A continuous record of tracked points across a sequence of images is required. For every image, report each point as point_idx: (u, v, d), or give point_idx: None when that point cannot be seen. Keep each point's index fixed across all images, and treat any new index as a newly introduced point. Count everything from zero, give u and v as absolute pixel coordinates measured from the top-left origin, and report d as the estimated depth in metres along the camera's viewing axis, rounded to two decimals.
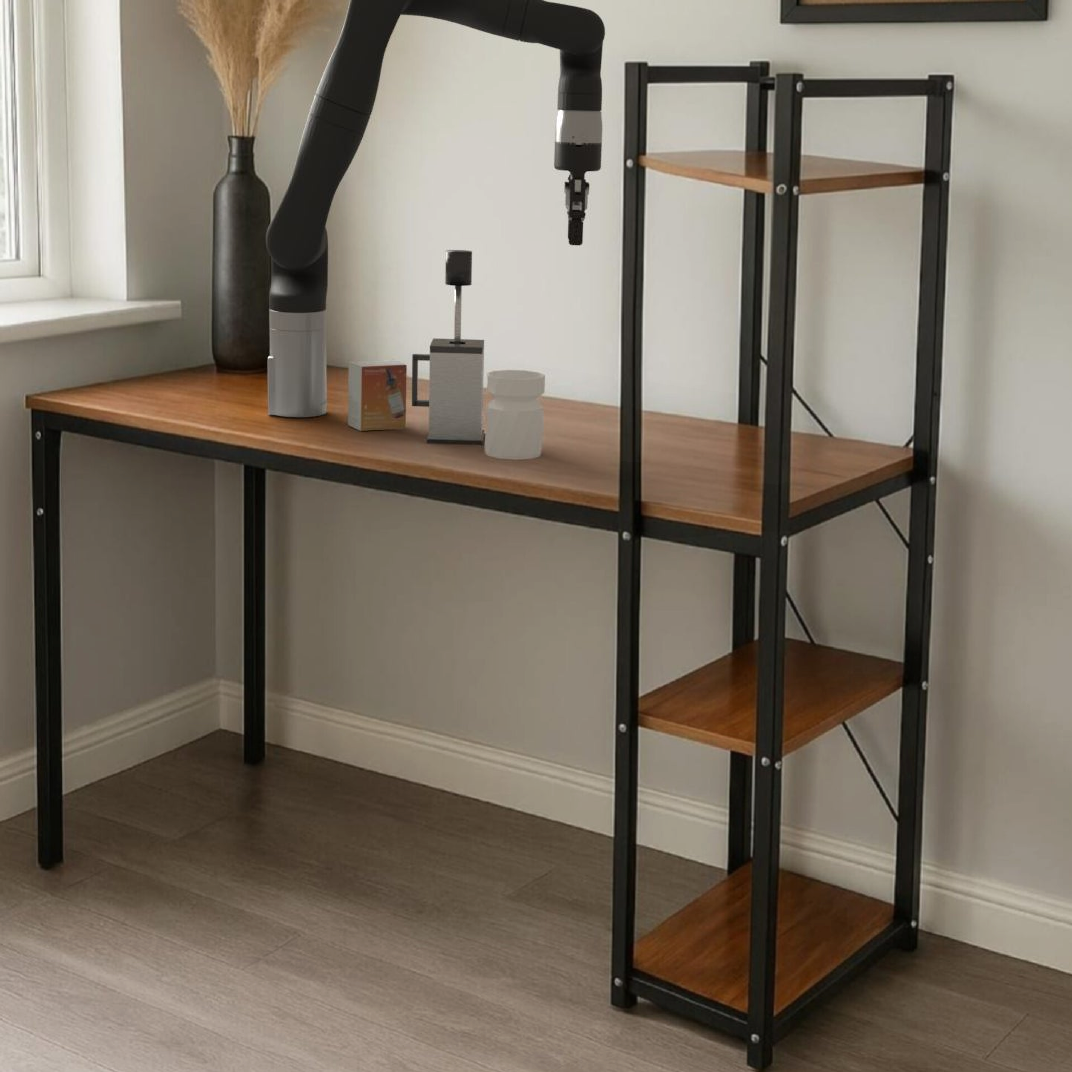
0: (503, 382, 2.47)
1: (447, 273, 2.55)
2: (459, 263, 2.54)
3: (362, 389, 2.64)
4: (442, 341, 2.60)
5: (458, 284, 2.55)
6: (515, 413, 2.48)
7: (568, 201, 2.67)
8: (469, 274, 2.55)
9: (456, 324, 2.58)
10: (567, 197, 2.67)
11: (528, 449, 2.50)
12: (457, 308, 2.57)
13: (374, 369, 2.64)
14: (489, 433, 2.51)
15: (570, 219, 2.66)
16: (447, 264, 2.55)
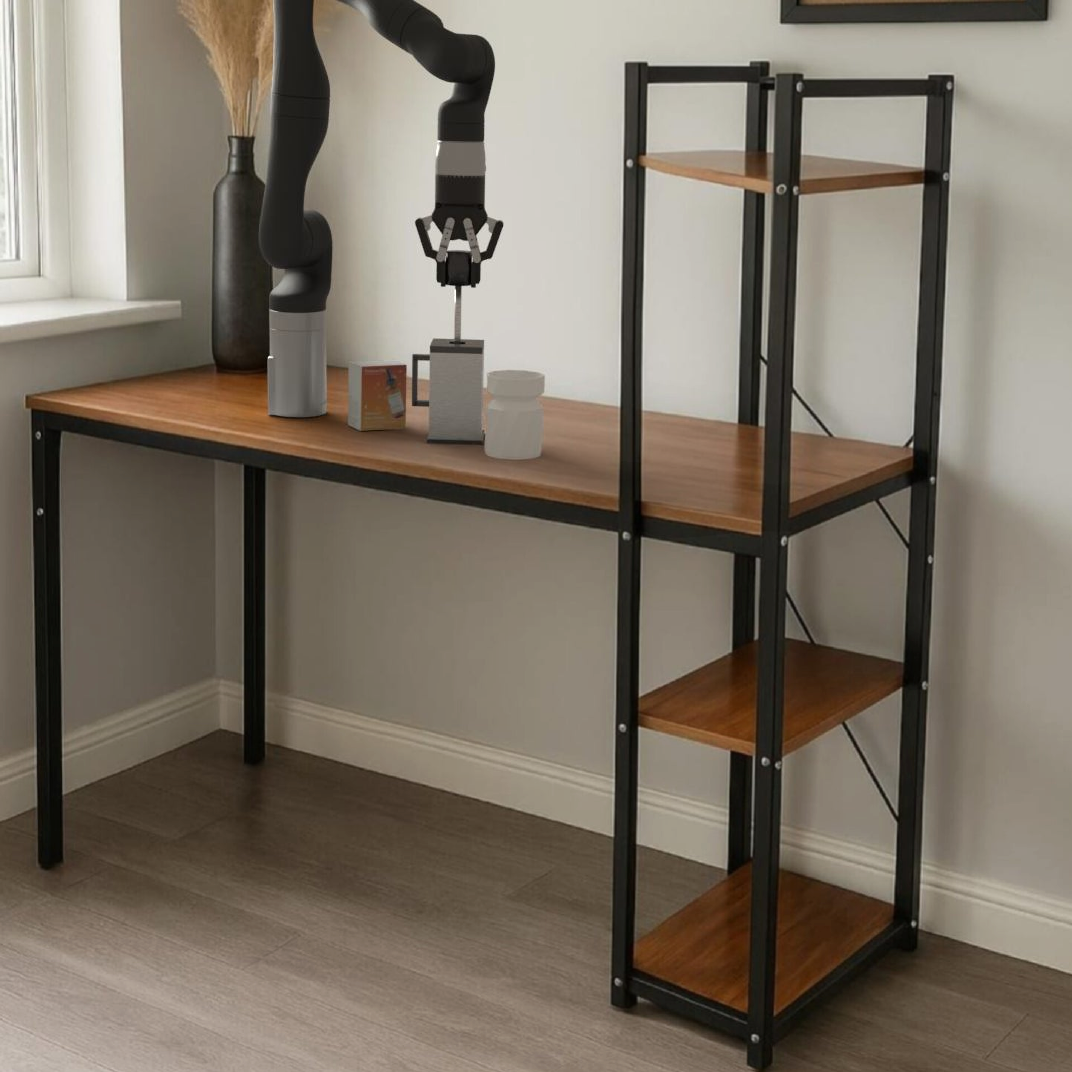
0: (503, 382, 2.47)
1: (447, 273, 2.55)
2: (459, 263, 2.54)
3: (362, 389, 2.64)
4: (442, 341, 2.60)
5: (458, 284, 2.55)
6: (514, 414, 2.47)
7: (476, 241, 2.54)
8: (469, 274, 2.55)
9: (456, 324, 2.58)
10: (475, 237, 2.53)
11: (528, 449, 2.50)
12: (457, 308, 2.57)
13: (374, 369, 2.64)
14: (489, 433, 2.51)
15: (479, 261, 2.55)
16: (447, 264, 2.55)
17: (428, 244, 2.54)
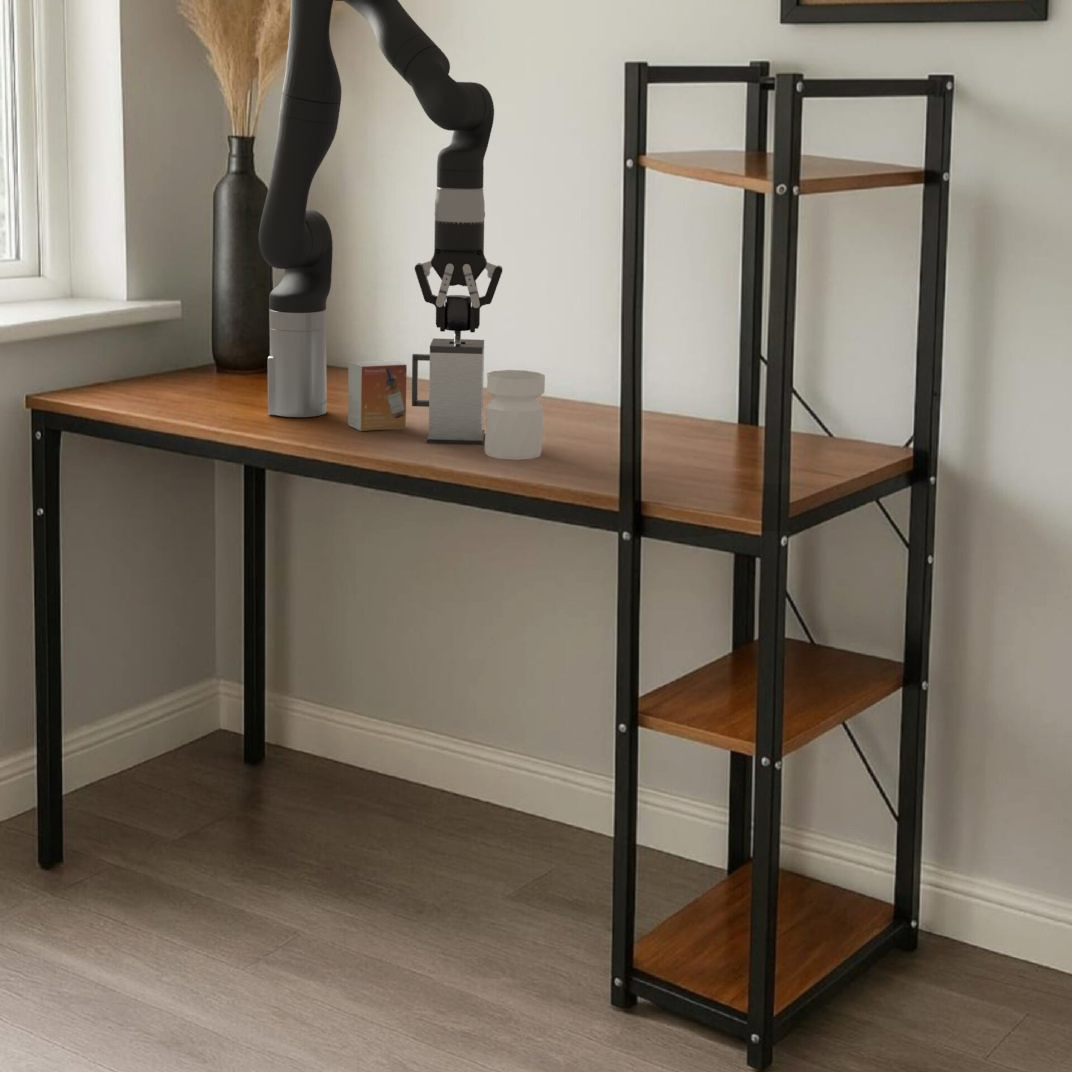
0: (503, 382, 2.47)
1: (446, 318, 2.57)
2: (458, 308, 2.56)
3: (362, 389, 2.64)
4: (442, 341, 2.60)
5: (457, 329, 2.57)
6: (515, 414, 2.47)
7: (475, 287, 2.56)
8: (468, 319, 2.57)
9: None
10: (474, 282, 2.55)
11: (528, 449, 2.50)
12: None
13: (374, 369, 2.64)
14: (489, 433, 2.51)
15: (478, 306, 2.57)
16: (446, 309, 2.57)
17: (427, 289, 2.56)
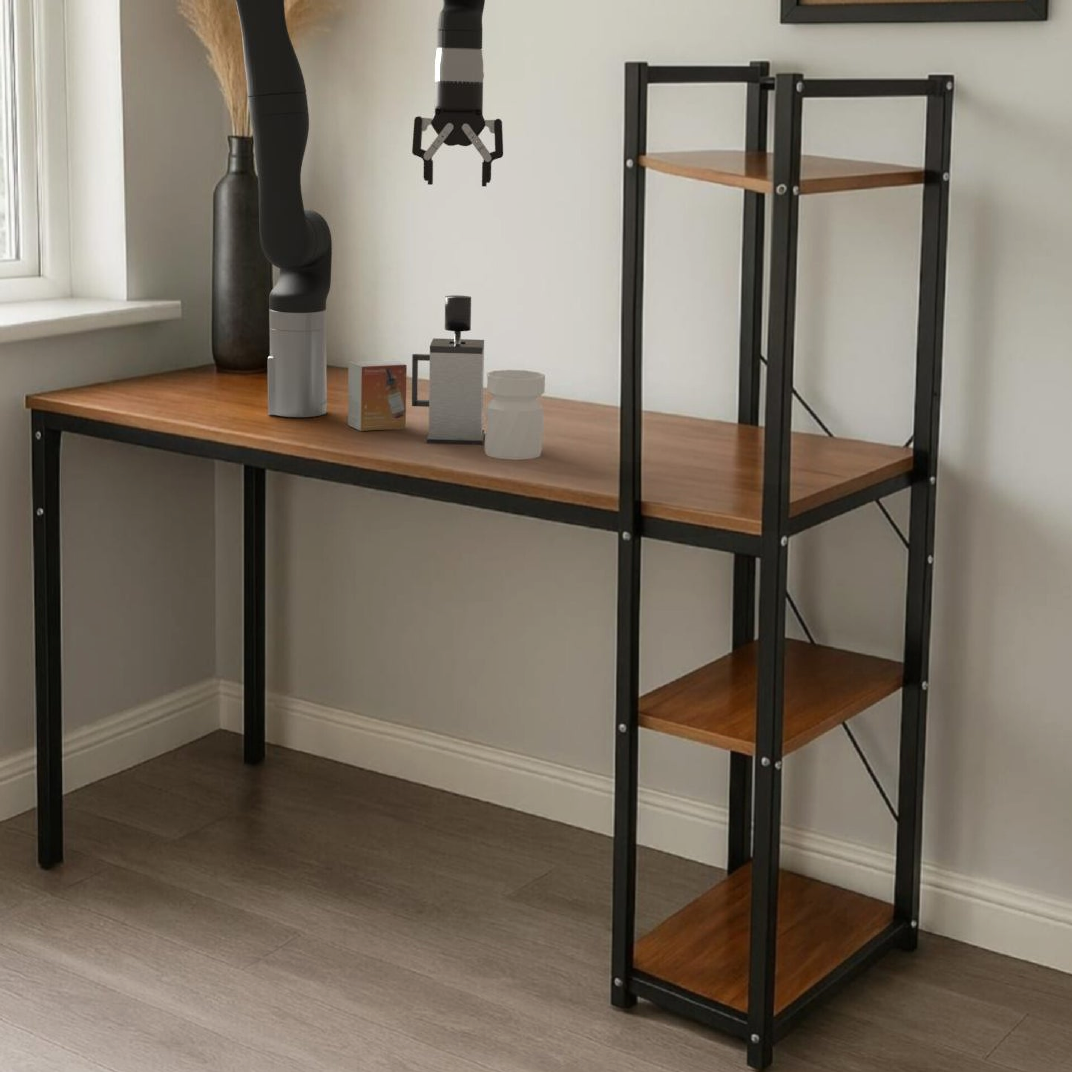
0: (503, 382, 2.47)
1: (446, 319, 2.57)
2: (458, 308, 2.56)
3: (362, 389, 2.64)
4: (442, 341, 2.60)
5: (457, 330, 2.57)
6: (515, 414, 2.47)
7: (481, 142, 2.63)
8: (468, 320, 2.57)
9: None
10: (478, 138, 2.62)
11: (528, 449, 2.50)
12: None
13: (374, 369, 2.64)
14: (489, 433, 2.51)
15: None
16: (446, 309, 2.57)
17: (418, 143, 2.63)
